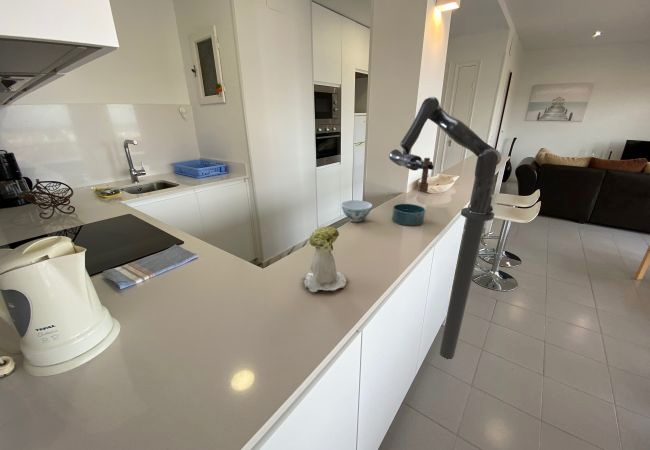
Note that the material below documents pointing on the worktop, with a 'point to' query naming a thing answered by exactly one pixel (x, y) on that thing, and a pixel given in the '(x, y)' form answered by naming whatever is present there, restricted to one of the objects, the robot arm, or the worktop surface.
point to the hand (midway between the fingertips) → (429, 167)
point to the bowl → (408, 214)
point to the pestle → (424, 177)
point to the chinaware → (356, 209)
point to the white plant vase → (324, 262)
